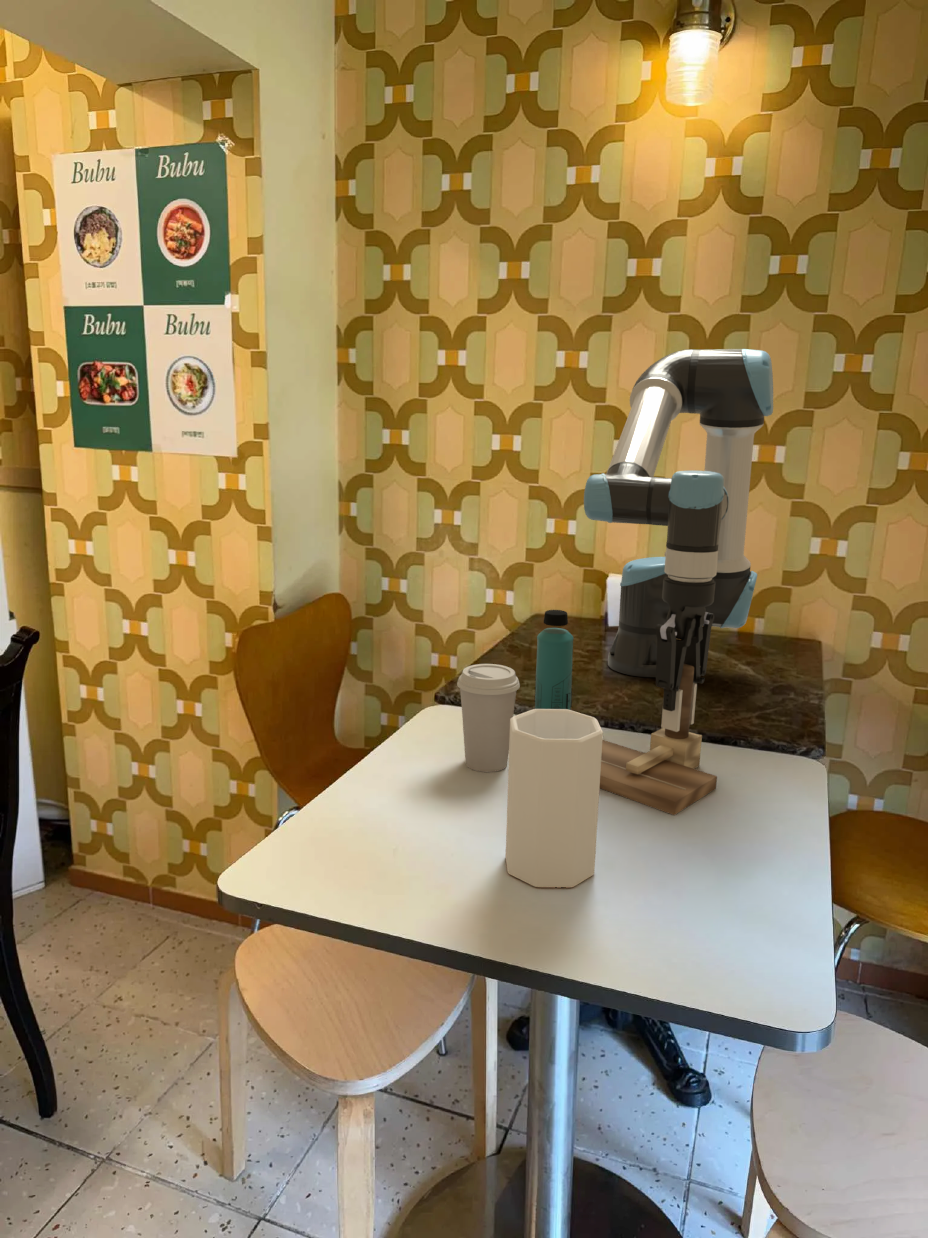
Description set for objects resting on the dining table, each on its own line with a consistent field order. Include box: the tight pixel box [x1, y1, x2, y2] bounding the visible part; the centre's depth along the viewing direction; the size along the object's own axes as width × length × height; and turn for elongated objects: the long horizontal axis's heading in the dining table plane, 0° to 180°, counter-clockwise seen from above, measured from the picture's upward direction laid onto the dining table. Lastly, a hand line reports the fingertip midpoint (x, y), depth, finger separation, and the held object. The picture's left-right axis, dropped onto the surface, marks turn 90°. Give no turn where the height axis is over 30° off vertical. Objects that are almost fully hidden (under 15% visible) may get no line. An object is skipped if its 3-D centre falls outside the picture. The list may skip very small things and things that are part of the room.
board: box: [599, 739, 718, 816], centre depth 136 cm, size 12×26×2 cm, turn 47°
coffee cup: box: [456, 663, 521, 773], centre depth 138 cm, size 10×10×15 cm
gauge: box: [626, 664, 703, 774], centre depth 135 cm, size 15×6×16 cm, turn 137°
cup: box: [505, 708, 604, 889], centre depth 108 cm, size 11×11×18 cm
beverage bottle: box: [533, 609, 574, 710], centre depth 156 cm, size 6×7×20 cm
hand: (677, 725), depth 139 cm, fingers closed on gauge, 4 cm apart
